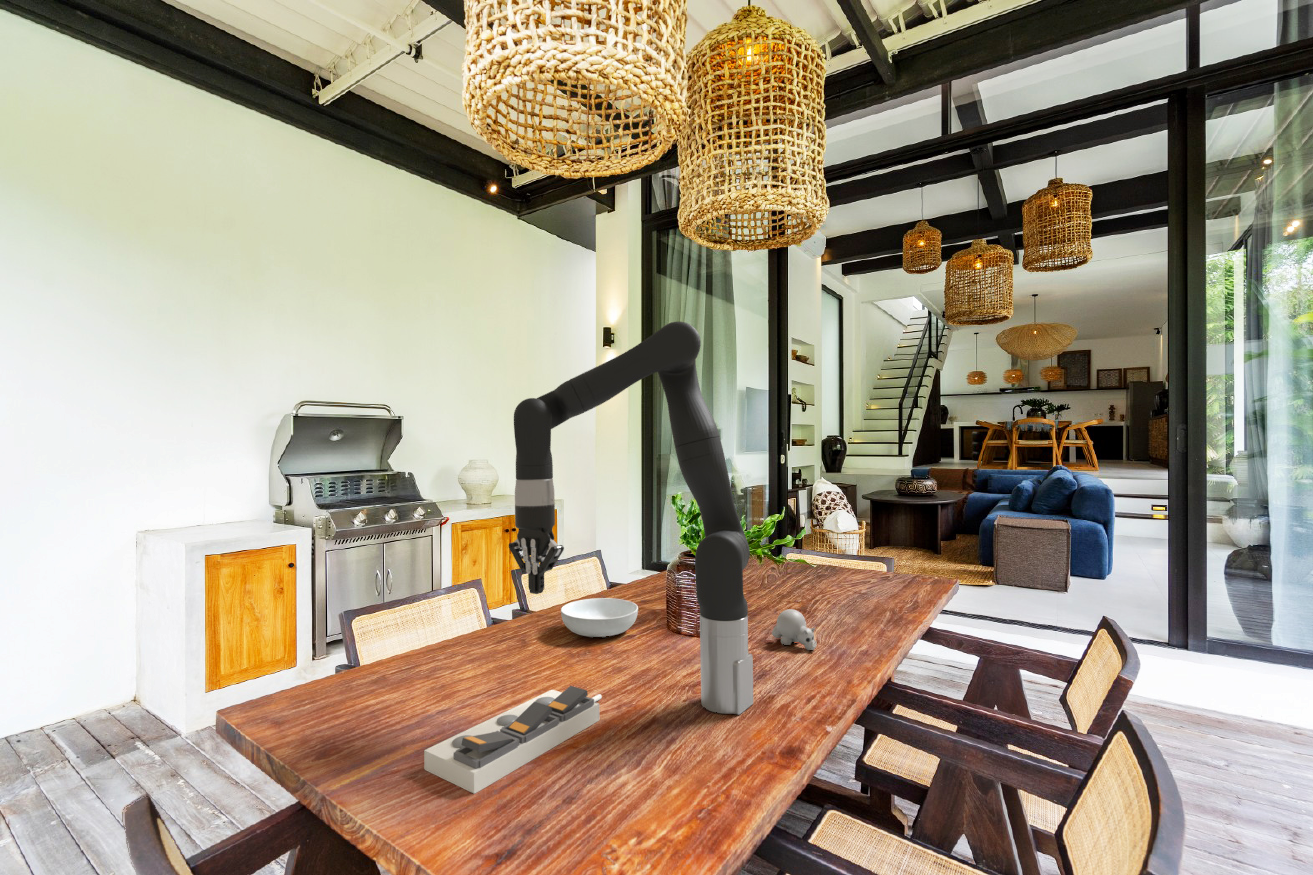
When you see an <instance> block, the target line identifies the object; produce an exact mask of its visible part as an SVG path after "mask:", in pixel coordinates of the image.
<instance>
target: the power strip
mask: <svg viewBox="0 0 1313 875" xmlns="http://www.w3.org/2000/svg"><path fill="white" fill-rule="evenodd" d="M561 693H563V692H562V691H558V690H556V689H555V690H554V689H550V690H548V691H546V692H544V693H542V694H540V695H538V696H536V697H533V698H531V699H530V700H527V701H524V702H523V703H521V704H519V705H516V706H514V707H512V708H510V709H509V710H508V709H507V710H505V711H504V712H502V713H499V714H498V715H495V716H493V717H491V718H489V719H487V720H485V721H482V722H481V723H479V724H476V725H474V726H472V727H469V728H468V729H466V730H464V731H461V732H459V733H457V734H455V735H453V736H451V737H449V738H447V739H445V740H443V741H440V742H438V743H437V744H434V745H433V746H430V747H428V748H426V749H424V752H423V754H424V757H423V760H424V762H423V763H424V765H423V768H424V770H425V771H427V772H428V773H430V774H432V775H434V776H437V777H439V778H441V779H443V780H445V781H446V782H449V783H452V784H453V785H455V786H457V787H459V788H461V789H464V790H465V791H468V792H470V793H471V794H474V795H475V794H477V793H478V792H480V791H482V790H484V789H485V788H487V787H489V786H491V785H492V784H494V783H495V782H497V781H499V780H500V779H502V778H504V777H506V776H507V775H509V774H511V773H512V772H514V771H516V770H517V769H520V768H521V767H522V766H524V765H526V764H528V763H529V762H531V761H533V760H534V759H536V758H538V757H540V756H541V755H543V754H545V753H547V752H549V750H551V749H553V748H555V747H557V746H558V745H560V744H561V743H563V742H565V741H567V740H568V739H570V738H572V737H574V736H575V735H577V734H578V733H580V732H582V731H584V730H586V729H587V728H589V727H591V726H592V725H594V724H596V723H598V722H599V721H600V720H601V718H600V712H601V711H600V703H599V702H598V701H600V700H601V699H603V698H602V697H603V696H602V694H601V693H597V694H596V695H595V696H592V697H589V696H587V697H585V698H584V699H583V700H582V701H581V702H580V703H579V704H578V705H577V706H575V707H574V708H573V709H572V710H571V711H569V712H567V713H565V714H560V713H557V712H554V711H552V713H551V714H550V715H549V716H548V717H547V718H546V719H545V720H544V721H543V722H542V723H541V724H540V725H539V726H538V727H537V728H536V729H535V730H534V731H532V732H530V733H528V734H526V735H521V734H518V733H516V732H513V731H510V730H508V727H509V726H510V725H511V724H512V723H513V722H514V721H515V720H516V719H517V718H518V717H519V716H520V715H521V714H522V713H523V712H524V711H525V710H526V709H527V708H528V707H529V706H530V705H531V704H532V703H533V702H537V703H540V704H543V705H549V704H550V703H551V702H552V701H553V700H554V699H556V698H557V697H558V696H559V695H560V694H561ZM493 732H496V733H499V734H501V735H504V736H507V737H509V738H512V742H511V743H509V744H507V745H506V746H504V747H501V748H497V749H492V750H487V751H483V752H477V751H474V750H472V749H470V748H467V747H465V746H462V739H463V738H465V737H470V736H476V735H482V734H487V733H493Z"/></svg>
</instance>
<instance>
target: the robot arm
mask: <svg viewBox="0 0 1313 875" xmlns="http://www.w3.org/2000/svg"><path fill="white" fill-rule="evenodd" d="M701 345H702V344H701V337H700V333H699V331H698V330H697V329H696V328H695V327H694V326H693V325H691V324H690V323H688V322H685V321H673V322H669V323H667V324H665V325H664V326H662V327H661V328H660V329H659V330H657V331H656V332H654V333H652V335H650V336H649V337H647V338H646V339H644V340H643V341H641V342H640V343H638V344H637V345H635V346H633V347H631V348H630V349H628V350H626V351H625V352H623V353H621V354H620V355H617V356H615V357H613V358H611V359H610V360H608V361H606V362H604V363H602V364H599V365H598V366H594V367H592V368H591V369H589V370H587V371H584V372H582V373H581V374H579V375H576V376H574V377H573V378H570V379H569V380H567V381H564V382H562V383H561V384H559V386H557V387H556V388H554V389H553V390H551V391H549V392H547V393H545V394H542V395H540V396H538V397H537V398H535V397H530V398H529V397H528V398H526V399H523V400H521V401H520V402H519V403H518V405H517V406H516V407H515V410H514V412H513V431H514V434H513V435H514V440H515V441H514V443H515V450H516V452H515V453H516V454H515V488H514V521H515V522H514V523H515V524H514V525H515V528H517V529H518V532H517V534H516V540H514V541H513V542H510V543H509V544H508V549H509V550H510V552H511V555H512V557H513V558H514V560H515V562H516V563H517V565H518V567H519V569H520V570H524V571H525V572H526V573H527V574H528V576H527V578H528V579H527V580H528V590H529V594H534V595H538V594H539V595H540V594H541V593H543V592H544V589H545V573H546V572H549V571H552V570H553V568H554V567H555V566H556V563H557V561H558V560H559V559H560V557H561V555H562V553H563V552H564V550H565V547H564V545H562V544H560V545H559V544H558V543H557V542H556V541H555V535H554V531H553V528H554V526H555V525H556V509H555V507H556V505H555V504H556V503H555V486H554V478H553V477H554V473H553V472H554V471H553V470H554V469H553V466H554V465H553V456H552V451H551V448H552V446H551V443H552V442H551V441H552V440H551V439H552V430H553V429H555V428H556V427H558V426H560V425H561V424H563V423H565V422H566V421H568V420H570V419H571V418H574V417H577V416H579V415H582V414H584V413H586V412H588V411H590V410H592V409H594V408H596V407H598V406H600V405H602V404H604V403H606V402H608V401H610V400H611V399H613V398H614V397H616V396H617V395H619V394H620V393H622V392H624V391H625V390H626V389H628V388H630V387H631V386H633V385H634V384H636V383H637V382H639V381H641V380H643V379H644V378H646V377H648V376H649V377H650V376H651V375H654V374H656V373H657V375H658V377H659V380H660V383H661V385H662V389H663V391H664V394H665V398H666V403H667V409H668V415H669V423H670V429H671V433H672V434H671V435H672V439H673V445H674V449H675V454H676V458H677V462H678V466H679V468H680V472H681V474H682V477H683V479H684V481H685V484H686V486H687V487H688V490H689V491H690V493H691V494H692V496H693V499H694V500H695V502H696V504H697V507H698V509H699V512H700V516H701V520H702V521H701V522H702V526H703V527H702V528H703V531H704V538H703V539H701V540H700V542H699V544H698V545H697V548H696V550H695V558H694V574H695V592H696V593H695V594H696V600H697V602H698V605H699V639H700V641H699V642H700V643H699V645H700V646H699V648H700V656H699V657H700V700H701V702H700V703H701V705H702V707H703V708H704V707H705V708H706V710H707V711H710V712H713V713H716V712H717V714H723V715H725V714H730V715H731V714H734V715H742V713H744V711H746V710H747V709H749V708H750V707H751V706H752V705H753V704H754V674H753V673H754V672H753V671H754V668H753V667H754V665H753V658H754V657H753V654H752V653H749V627H748V626H749V624H748V623H749V622H748V617H749V615H748V614H749V611H748V610H749V608H748V601H747V599H746V598H745V595H744V574H743V571H744V570H745V569H746V567H747V565H748V564H749V560H750V555H751V553H750V545H749V543H748V539H747V537H746V535H745V534H746V533H745V531H744V528H743V526H742V523H741V520H740V518H739V514H738V511H737V507H736V506H735V501H734V497H733V493H732V492H733V491H732V486H731V485H732V484H731V481H730V480H731V479H730V475H729V472H728V468H727V467H728V466H727V462H726V458H725V453H724V448H723V445H722V441H721V440H722V439H721V437H720V433H719V429H718V427H717V424H716V421H715V418H714V417H713V416H712V413H711V412H710V409H709V407H708V405H707V403H706V400H704V397H703V395H702V392H701V387H700V382H699V377H698V371H697V365H696V362H697V361H696V359H697V358H698V356H699V353H700V351H701ZM705 708H704V709H705Z"/></svg>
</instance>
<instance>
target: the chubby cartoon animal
mask: <svg viewBox="0 0 1313 875" xmlns="http://www.w3.org/2000/svg"><path fill="white" fill-rule="evenodd" d="M805 618H806V617H805V616H804V615H803V613H801V612H800V611H798V610H796V609H794V608H793V609H792V608H790V609H789V608H788V609H785V610H783V611H781V612H780V613H779V614H778V617H777V620H776V625H775V626H774V627H773V629H772V631H771V634H772V636H773V637H774V638H776V639H780V643H781V645H783V644H784V645H790V646H791V644H792V642H799V643H800V645H801V644H802V645H803V646H804V648H805V649H806V650H807V651H808V650H813V651H814V650H815V649H816V648H817V644H818V643H817V640H815V634H814V633H815V630H816V628H815V627H812V628H810V627H807V622H806V619H805ZM784 645H783V646H784Z"/></svg>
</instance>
